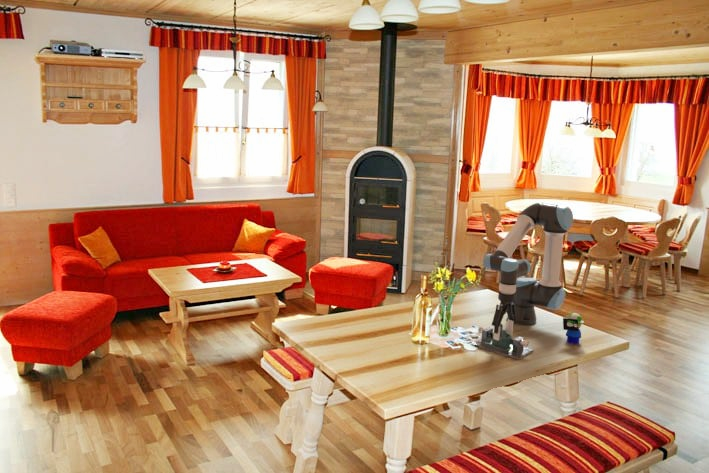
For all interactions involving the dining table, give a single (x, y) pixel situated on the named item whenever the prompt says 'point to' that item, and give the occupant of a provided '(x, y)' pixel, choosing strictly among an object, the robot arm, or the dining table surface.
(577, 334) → the toy
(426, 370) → the dining table surface
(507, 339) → the bracket
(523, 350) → the shaft bench
